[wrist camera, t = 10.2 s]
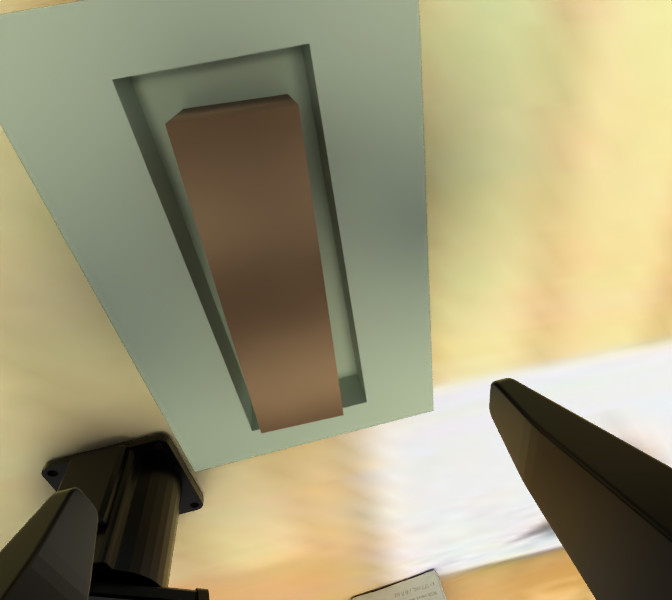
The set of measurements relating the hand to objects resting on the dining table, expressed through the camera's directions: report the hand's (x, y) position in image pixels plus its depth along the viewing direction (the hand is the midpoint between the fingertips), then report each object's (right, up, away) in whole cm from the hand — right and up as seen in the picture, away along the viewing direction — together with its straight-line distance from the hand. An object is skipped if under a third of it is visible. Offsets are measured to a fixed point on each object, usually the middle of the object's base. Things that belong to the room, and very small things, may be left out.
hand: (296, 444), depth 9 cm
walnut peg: (-2, +5, +8) cm, 10 cm away
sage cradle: (-2, +5, +9) cm, 11 cm away
